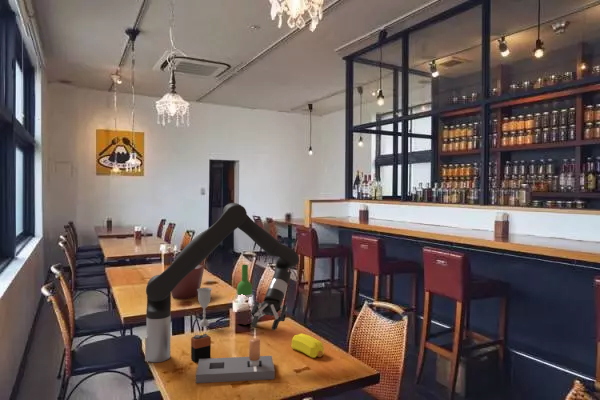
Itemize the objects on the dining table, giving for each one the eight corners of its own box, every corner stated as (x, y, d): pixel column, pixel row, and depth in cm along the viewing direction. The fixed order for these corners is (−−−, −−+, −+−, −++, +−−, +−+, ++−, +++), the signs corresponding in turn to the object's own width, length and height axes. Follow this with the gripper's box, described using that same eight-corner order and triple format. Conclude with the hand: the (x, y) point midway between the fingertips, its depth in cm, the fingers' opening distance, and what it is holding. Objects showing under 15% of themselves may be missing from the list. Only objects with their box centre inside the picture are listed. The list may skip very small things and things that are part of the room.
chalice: (213, 323, 216) (214, 288, 215) (207, 327, 209) (207, 291, 209) (201, 322, 218) (201, 287, 217) (194, 326, 211) (194, 290, 211)
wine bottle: (249, 326, 212) (249, 266, 211) (234, 325, 213) (234, 266, 212) (254, 321, 219) (254, 264, 218) (239, 320, 221) (240, 263, 220)
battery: (190, 359, 171) (190, 334, 171) (206, 355, 175) (206, 331, 175) (194, 363, 167) (195, 338, 167) (211, 359, 171) (211, 334, 171)
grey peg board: (195, 383, 150) (195, 374, 150) (199, 366, 164) (199, 358, 164) (274, 379, 154) (274, 370, 154) (271, 363, 168) (271, 355, 168)
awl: (249, 374, 158) (249, 342, 158) (248, 369, 162) (249, 338, 162) (259, 373, 159) (260, 341, 158) (259, 369, 163) (259, 338, 162)
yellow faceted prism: (300, 344, 190) (286, 348, 185) (300, 329, 189) (286, 333, 184) (328, 356, 176) (314, 361, 171) (328, 340, 176) (314, 345, 171)
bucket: (196, 301, 257) (196, 260, 256) (160, 300, 257) (160, 259, 257) (206, 291, 281) (206, 253, 281) (173, 290, 282) (173, 253, 281)
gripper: (257, 285, 177) (244, 320, 166) (289, 289, 171) (277, 325, 161) (263, 295, 182) (250, 330, 171) (294, 299, 176) (282, 335, 166)
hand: (263, 328), depth 166 cm, fingers open, 8 cm apart
